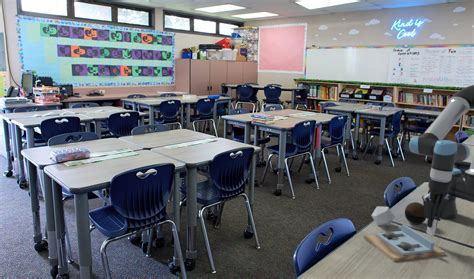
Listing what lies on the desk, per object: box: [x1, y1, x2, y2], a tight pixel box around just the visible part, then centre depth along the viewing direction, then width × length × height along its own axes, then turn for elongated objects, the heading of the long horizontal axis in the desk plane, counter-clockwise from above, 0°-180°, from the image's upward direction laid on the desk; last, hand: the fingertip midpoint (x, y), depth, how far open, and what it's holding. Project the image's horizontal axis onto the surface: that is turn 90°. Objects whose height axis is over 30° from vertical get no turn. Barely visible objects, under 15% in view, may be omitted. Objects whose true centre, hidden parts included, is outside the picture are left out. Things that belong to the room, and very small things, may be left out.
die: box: [371, 206, 396, 227], centre depth 164 cm, size 8×9×10 cm
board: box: [363, 231, 446, 262], centre depth 144 cm, size 24×18×4 cm
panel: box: [375, 224, 435, 255], centre depth 144 cm, size 14×16×4 cm
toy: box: [404, 201, 427, 225], centre depth 166 cm, size 9×10×10 cm
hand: (430, 234), depth 147 cm, fingers closed
